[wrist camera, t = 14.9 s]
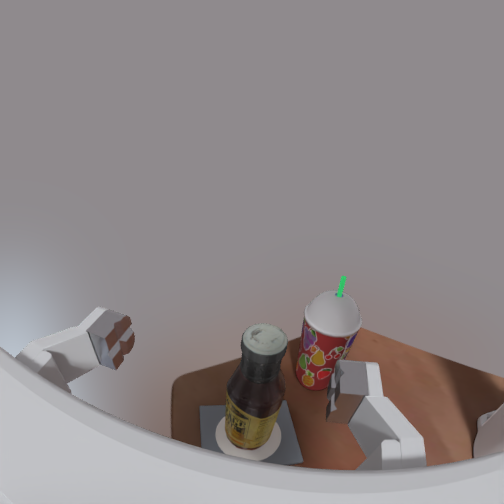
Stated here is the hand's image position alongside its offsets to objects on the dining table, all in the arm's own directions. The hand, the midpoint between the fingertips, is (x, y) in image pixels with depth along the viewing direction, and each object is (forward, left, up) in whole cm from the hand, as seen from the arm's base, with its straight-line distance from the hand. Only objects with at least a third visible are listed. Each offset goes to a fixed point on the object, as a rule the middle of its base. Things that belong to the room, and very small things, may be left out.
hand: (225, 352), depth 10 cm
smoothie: (-17, -21, -30) cm, 40 cm away
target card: (-4, -11, -30) cm, 32 cm away
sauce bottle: (-4, -11, -29) cm, 32 cm away
